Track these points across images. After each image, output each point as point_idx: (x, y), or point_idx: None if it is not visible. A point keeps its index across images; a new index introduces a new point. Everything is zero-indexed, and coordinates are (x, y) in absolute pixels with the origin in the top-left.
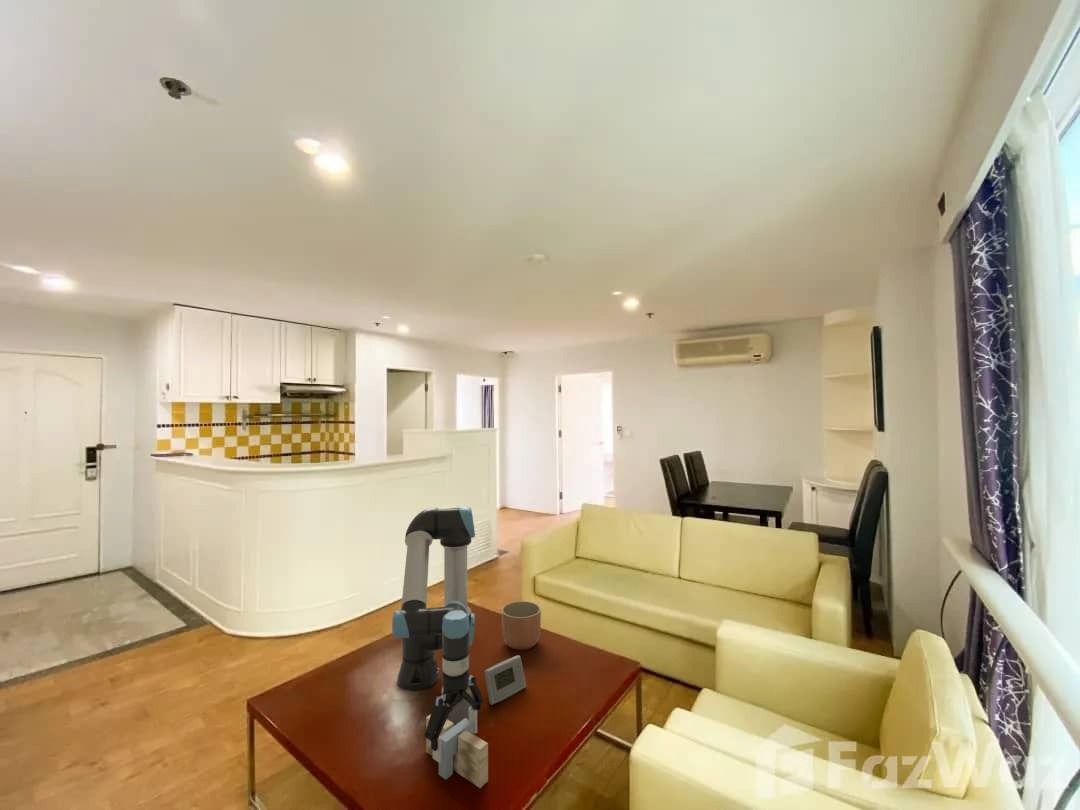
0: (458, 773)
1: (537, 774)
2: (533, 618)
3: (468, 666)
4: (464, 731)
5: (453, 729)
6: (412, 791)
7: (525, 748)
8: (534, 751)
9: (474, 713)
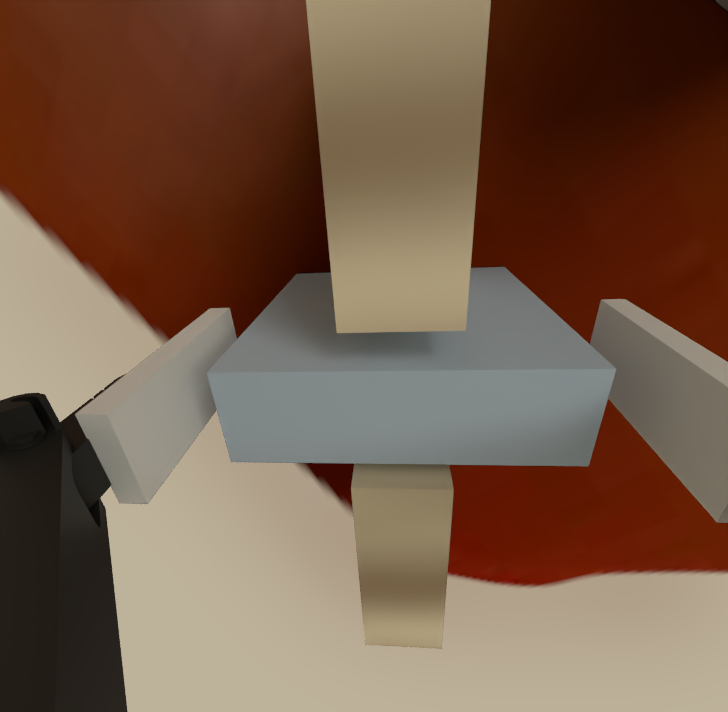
0: None
1: (557, 566)
2: None
3: None
4: (433, 491)
5: (388, 400)
6: (141, 253)
7: None
8: (676, 511)
9: (698, 483)
